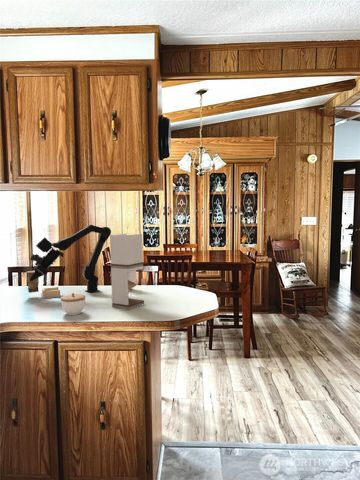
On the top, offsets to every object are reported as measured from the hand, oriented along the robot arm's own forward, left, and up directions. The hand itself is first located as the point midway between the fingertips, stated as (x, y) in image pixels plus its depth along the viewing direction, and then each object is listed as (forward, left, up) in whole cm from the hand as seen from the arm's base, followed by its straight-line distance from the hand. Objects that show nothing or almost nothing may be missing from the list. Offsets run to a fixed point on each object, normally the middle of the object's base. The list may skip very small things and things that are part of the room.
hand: (30, 279), depth 200 cm
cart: (-1, -1, -7) cm, 7 cm away
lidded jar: (-48, +1, -10) cm, 49 cm away
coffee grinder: (-56, -24, -10) cm, 61 cm away
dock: (-4, -10, -10) cm, 15 cm away
